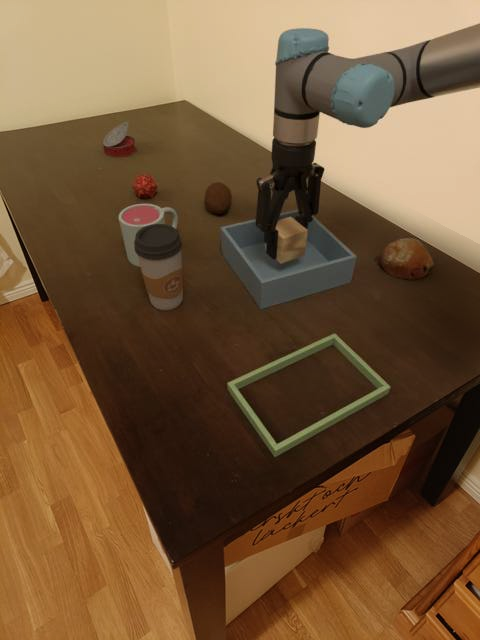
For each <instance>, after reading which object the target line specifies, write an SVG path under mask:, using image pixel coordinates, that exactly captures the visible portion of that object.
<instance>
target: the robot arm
mask: <svg viewBox="0 0 480 640" xmlns="http://www.w3.org/2000/svg"><path fill="white" fill-rule="evenodd" d="M329 50H330V46H329V34H328V33H326V32H325V31H324V30H322V29H317V28H308V27H307V28H306V27H301V28H298V27H297V28H291V29H287V30H285V31H283V32H282V33H281V34H280V35H279V37H278V42H277V50H276V59H275V63H274V65H275V76H274V77H275V81H274V101H273V103H274V104H273V124H272V137H273V139H272V140H271V163H272V167H271V170H270V171H269V172H270V173H269V175H267V176H266V177H264V178H263V177H258V178H257V179H256V186H257V201H256V202H257V203H256V214H255V219H256V226H257V227H258V228H259V229H260V230H261V231H263V232H264V242H265V243H266V244H267V246H266V253H267V254H268V255H269V256H270V257H271V258H272V259H273V260H274V259H276V256H277V242H278V230H276V229H275V228H276V225H277V222H278V219H279V216H280V214H281V213H282V211H283V207H284V204H285V201H286V200H287V199H288V198H289V195H290V193H291V192H293V191H294V197H295V201H296V207H297V210H298V212H299V215H300V217H299V216H296V217H295V221H297V222H298V223H299V224H301V225H302V226H303V227H305V228H306V229H307V230H308V222H312V220H313V217H311V216H312V215H313V216H317V215H318V214H319V211H320V210H319V209H320V197H321V185H322V180H323V175H324V173H325V169H326V168H325V167H323V166H322V165H320V164H319V163H317V162H314V161H315V157H316V156H315V155H316V148H317V141H316V139H317V138H318V132H319V123H320V114H324V115H326V116H328V117H331V118H333V119H335V120H338V121H339V122H341V123H343V124H345V125H348V126H353V127H358V128H360V129H369V128H371V127H374V126H375V125H377V124H378V122H379V120H381V119H383V118H384V117H385V116H386V115H387V113H388V112H389V110H390V108H393V107H398V106H401V105H405V104H409V103H414V102H418V101H423V100H428V99H432V98H433V99H434V98H436V97H441V96H446V95H451V94H456V93H459V92H460V93H461V92H465V91H469V90H475V89H479V88H480V22H479V23H477V24H473V25H469V26H467V27H464V28H461V29H459V30H455V31H452V32H449V33H446V34H444V35H440V36H437V37H435V38H431V39H428V40H424V41H421V42H419V43H415V44H413V45H409V46H406V47H402V48H399V49H394V50H390V51H384V52H380V53H374V54H370V55H366V56H360V57H356V58H350V57H344V56H341V55H337V54H333V53H331V52H329Z"/></svg>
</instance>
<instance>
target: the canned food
mask: <svg viewBox="0 0 480 640" xmlns="http://www.w3.org/2000/svg"><path fill="white" fill-rule="evenodd" d="M129 127H130V123H129V121H124V122H122V123H120V124H118V125H117V126H115V127H114V128H112V130H110V131H109V132H108V133H107V134H106V135H105V136H104V139H103V140H102V146H103V150H104V154H105V156H108V157H111V158H125V157H128V156H132V155H133V154H135V153H136V151H137V148H136V141H135V140H136V139H135V138H134V137H132V136H129V135H127V134H128V131H129Z"/></svg>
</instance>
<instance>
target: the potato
mask: <svg viewBox="0 0 480 640" xmlns="http://www.w3.org/2000/svg"><path fill="white" fill-rule="evenodd" d="M232 200H233V195H232V191H231V189H230V188H229V186H228V185H226V184H225V183H223V182H218V181H215V182H213V183H211V184H209V185H208V186H207V188H206V190H205V193H204V203H205V206H206V208H207V210H208V211H209V212H211V213H212V214H214V215H223V214H224V213H226V212H227V211H228V209H230V206H231V204H232Z"/></svg>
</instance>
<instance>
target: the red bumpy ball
mask: <svg viewBox="0 0 480 640" xmlns="http://www.w3.org/2000/svg"><path fill="white" fill-rule="evenodd" d="M158 187H159V185H158V184H157V182H156V181H155V179H154V178H153V176H152V174H137V175H136V177H135V180H134V181H133V184H132V186H131V188H132V190H133V191H134V192H135V194H136V195H137V197H138V198H139V199H153V198H154V196H155V194H156V192H157V189H158Z"/></svg>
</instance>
